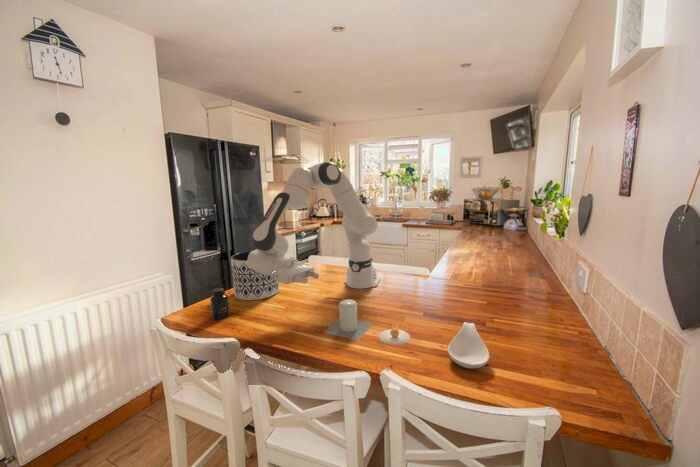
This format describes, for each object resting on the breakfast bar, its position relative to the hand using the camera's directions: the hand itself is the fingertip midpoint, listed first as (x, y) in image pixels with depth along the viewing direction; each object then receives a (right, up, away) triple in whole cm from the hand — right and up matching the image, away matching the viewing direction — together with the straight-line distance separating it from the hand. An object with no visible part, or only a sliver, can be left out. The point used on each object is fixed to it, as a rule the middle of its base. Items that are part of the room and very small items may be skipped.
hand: (312, 279), depth 118 cm
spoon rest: (+52, -21, -20) cm, 60 cm away
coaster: (+30, -19, -11) cm, 38 cm away
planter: (-33, -13, +39) cm, 53 cm away
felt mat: (+14, -19, -3) cm, 23 cm away
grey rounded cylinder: (+14, -18, -3) cm, 23 cm away
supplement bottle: (-41, -18, +12) cm, 46 cm away
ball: (+30, -19, -11) cm, 37 cm away
